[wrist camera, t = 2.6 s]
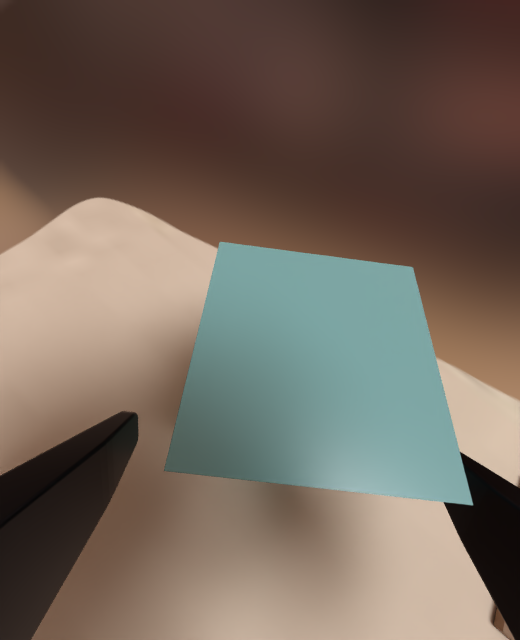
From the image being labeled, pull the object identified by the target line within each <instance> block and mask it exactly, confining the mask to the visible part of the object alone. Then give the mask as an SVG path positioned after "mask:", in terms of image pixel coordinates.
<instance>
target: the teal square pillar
mask: <svg viewBox="0 0 520 640" xmlns="http://www.w3.org/2000/svg"><path fill="white" fill-rule="evenodd" d="M164 471H169V472H178V473H187V474H196V475H205V476H214V477H223V478H232V479H241V480H250V481H259V482H268V483H277V484H286V485H295V486H304V487H313V488H322V489H331V490H340V491H349V492H358V493H367V494H376V495H385V496H394V497H403V498H412V499H421V500H430V501H439V502H448V503H457V504H466V505H473V502H472V498H471V494H470V491H469V487H468V483H467V479H466V475H465V471H464V467H463V463H462V459H461V455H460V451H459V447H458V443H457V439H456V436H455V432H454V428H453V424H452V420H451V416H450V412H449V408H448V404H447V400H446V396H445V392H444V388H443V384H442V380H441V377H440V373H439V369H438V365H437V361H436V357H435V353H434V349H433V345H432V341H431V337H430V333H429V329H428V326H427V322H426V318H425V314H424V310H423V306H422V302H421V298H420V294H419V290H418V287H417V282H416V279H415V274H414V271H413V267H406V266H399V265H391V264H384V263H376V262H369V261H361V260H354V259H346V258H338V257H330V256H322V255H315V254H308V253H301V252H293V251H285V250H277V249H270V248H262V247H255V246H248V245H240V244H232V243H225V242H220V244H219V248H218V252H217V256H216V260H215V264H214V268H213V272H212V276H211V280H210V285H209V289H208V293H207V297H206V301H205V305H204V309H203V313H202V317H201V321H200V325H199V330H198V334H197V338H196V342H195V346H194V350H193V354H192V358H191V362H190V366H189V370H188V375H187V379H186V383H185V387H184V391H183V395H182V399H181V403H180V407H179V411H178V415H177V419H176V424H175V428H174V432H173V436H172V440H171V444H170V448H169V452H168V456H167V460H166V464H165V469H164Z"/></svg>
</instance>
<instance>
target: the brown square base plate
mask: <svg viewBox="0 0 520 640" xmlns="http://www.w3.org/2000/svg"><path fill="white" fill-rule="evenodd" d="M494 626H495V627H496V628H497V629H498V630H499V631H501V632H502V633H503V634H504V635H505V636H506V637H507V638H509V639H510V640H515V639H514V638H513V636H512V634H511V632H510V630H509V628H508V627H507V625H506V623H505V621H504V619H503V617H502V615H501V614H500V612H499V610H498V608H497V611H496V616H495V621H494Z"/></svg>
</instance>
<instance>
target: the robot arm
mask: <svg viewBox="0 0 520 640" xmlns="http://www.w3.org/2000/svg"><path fill="white" fill-rule="evenodd" d="M137 441H138V415H137V413H135V412H127V411H122V412H119V413H118V414H116V415H114V416H112V417H110V418H108V419H106V420H104V421H102V422H101V423H99V424H97V425H95V426H93V427H91V428H89V429H87V430H85V431H84V432H82V433H80V434H78V435H76V436H74V437H72V438H70V439H68V440H67V441H65V442H63V443H61V444H59V445H57V446H55V447H53V448H51V449H50V450H48V451H46V452H44V453H42V454H40V455H38V456H36V457H34V458H33V459H31V460H29V461H27V462H25V463H23V464H21V465H19V466H17V467H16V468H14V469H12V470H10V471H8V472H6V473H4V474H2V475H0V640H31V639H32V637H33V635H34V633H35V632H36V630H37V628H38V626H39V625H40V623H41V621H42V619H43V618H44V616H45V614H46V613H47V611H48V609H49V607H50V606H51V604H52V602H53V600H54V599H55V597H56V595H57V593H58V592H59V590H60V588H61V586H62V585H63V583H64V581H65V579H66V578H67V576H68V574H69V572H70V571H71V569H72V567H73V565H74V564H75V562H76V560H77V558H78V557H79V555H80V553H81V552H82V550H83V548H84V546H85V545H86V543H87V541H88V539H89V538H90V536H91V534H92V532H93V531H94V529H95V527H96V525H97V524H98V522H99V520H100V518H101V517H102V515H103V513H104V511H105V510H106V508H107V506H108V504H109V502H110V500H111V498H112V496H113V494H114V492H115V490H116V488H117V486H118V483H119V481H120V479H121V477H122V475H123V472H124V470H125V468H126V466H127V464H128V462H129V459H130V457H131V455H132V453H133V451H134V448H135V446H136V444H137ZM460 455H461V459H462V463H463V467H464V471H465V475H466V479H467V483H468V487H469V491H470V494H471V498H472V502H473V505H466V504H457V503H448V502H444V504H445V506H446V509H447V511H448V513H449V515H450V517H451V520H452V522H453V524H454V526H455V529H456V531H457V533H458V535H459V537H460V539H461V541H462V543H463V545H464V547H465V549H466V551H467V553H468V554H469V556H470V558H471V560H472V562H473V564H474V566H475V567H476V569H477V571H478V573H479V575H480V577H481V578H482V580H483V582H484V584H485V586H486V588H487V590H488V591H489V593H490V595H491V597H492V599H493V601H494V602H495V604H496V606H497V608H498V610H499V612H500V614H501V615H502V617H503V619H504V621H505V623H506V625H507V627H508V628H509V630H510V632H511V634H512V636H513V638H514V639H515V640H520V488H518V487H517V486H515V485H513V484H512V483H510V482H508V481H507V480H505V479H504V478H502V477H500V476H499V475H497V474H495V473H494V472H492V471H491V470H489V469H487V468H486V467H484V466H483V465H481V464H479V463H478V462H476V461H474V460H473V459H471V458H470V457H468V456H466V455H465V454H463V453H461V452H460Z"/></svg>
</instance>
